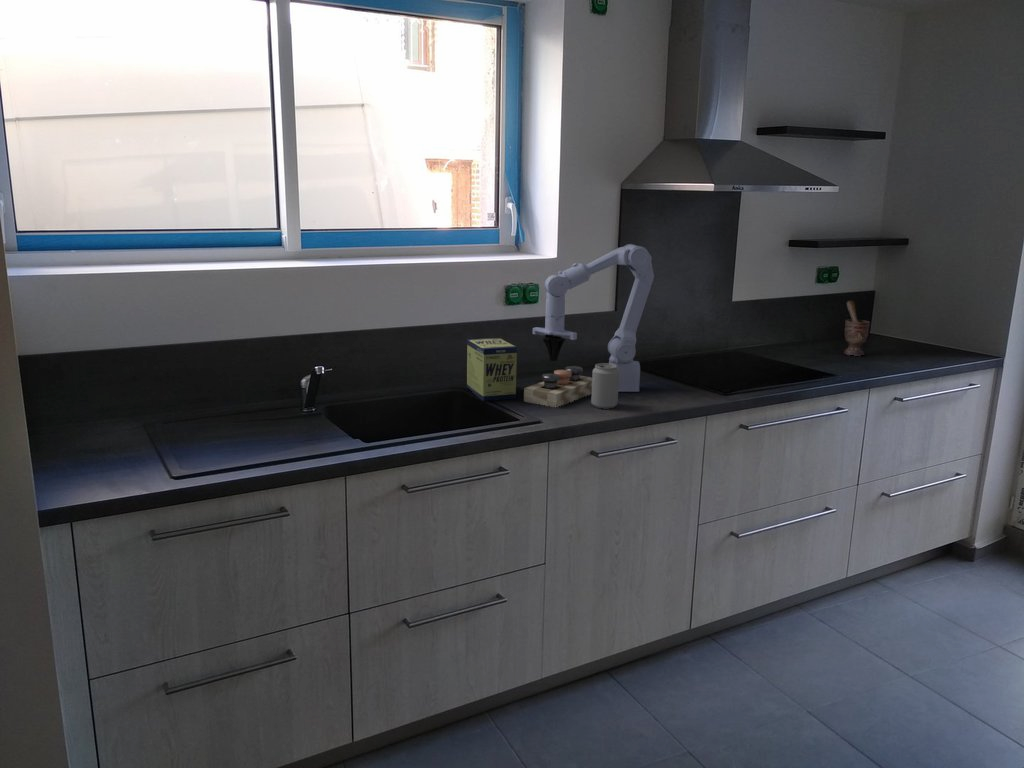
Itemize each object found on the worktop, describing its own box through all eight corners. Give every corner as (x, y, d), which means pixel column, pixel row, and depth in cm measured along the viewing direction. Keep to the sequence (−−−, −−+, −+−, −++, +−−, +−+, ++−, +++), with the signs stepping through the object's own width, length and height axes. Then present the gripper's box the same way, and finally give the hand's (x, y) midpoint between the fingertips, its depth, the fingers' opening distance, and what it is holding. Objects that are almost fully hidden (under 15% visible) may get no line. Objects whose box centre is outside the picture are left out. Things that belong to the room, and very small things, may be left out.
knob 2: (580, 380, 252) (581, 366, 251) (583, 384, 247) (583, 370, 246) (563, 380, 252) (564, 366, 251) (565, 384, 247) (566, 369, 245)
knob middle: (569, 384, 247) (570, 369, 246) (572, 388, 242) (572, 373, 241) (552, 384, 246) (553, 369, 245) (554, 388, 241) (555, 373, 240)
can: (602, 401, 240) (604, 361, 237) (622, 406, 235) (625, 365, 232) (585, 405, 235) (587, 364, 232) (606, 411, 230) (608, 369, 227)
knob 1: (558, 388, 242) (559, 373, 241) (560, 392, 237) (561, 377, 236) (540, 388, 241) (541, 373, 240) (542, 392, 236) (543, 377, 235)
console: (567, 385, 257) (567, 373, 257) (598, 391, 251) (598, 378, 250) (523, 401, 238) (524, 388, 237) (556, 407, 232) (556, 394, 231)
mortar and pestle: (830, 352, 318) (836, 300, 314) (845, 350, 322) (851, 299, 318) (855, 357, 309) (861, 304, 304) (870, 355, 313) (877, 303, 308)
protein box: (483, 401, 238) (483, 348, 234) (466, 389, 252) (466, 338, 248) (516, 398, 241) (517, 346, 238) (498, 386, 255) (498, 337, 252)
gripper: (527, 314, 247) (526, 359, 250) (568, 320, 239) (567, 365, 242) (540, 312, 252) (539, 355, 256) (581, 317, 244) (579, 361, 248)
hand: (553, 360), depth 249 cm, fingers closed
